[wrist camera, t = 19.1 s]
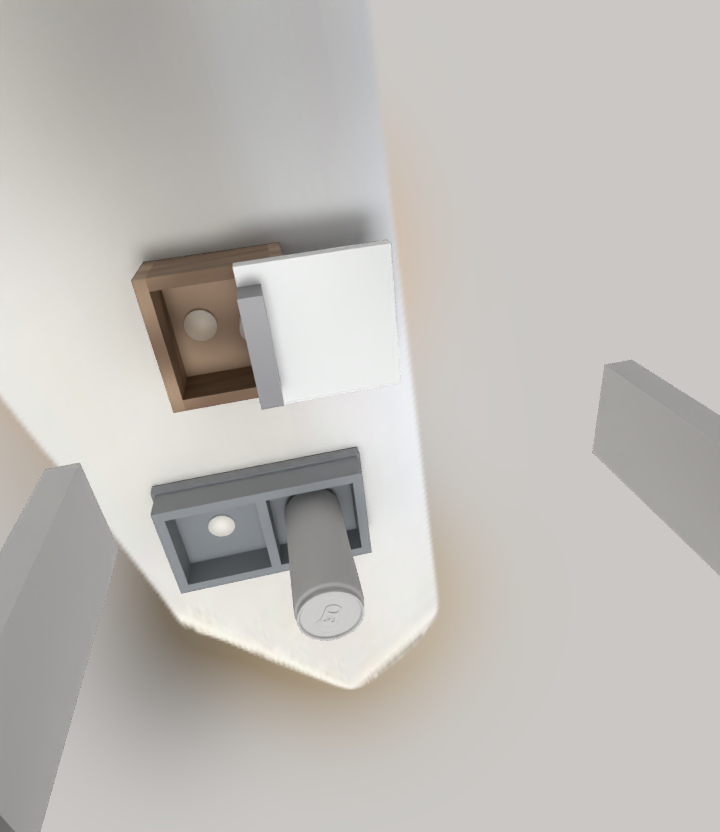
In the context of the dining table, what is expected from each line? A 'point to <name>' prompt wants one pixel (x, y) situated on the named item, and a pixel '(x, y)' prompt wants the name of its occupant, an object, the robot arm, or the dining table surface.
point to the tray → (199, 326)
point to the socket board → (250, 517)
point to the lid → (320, 322)
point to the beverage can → (322, 567)
